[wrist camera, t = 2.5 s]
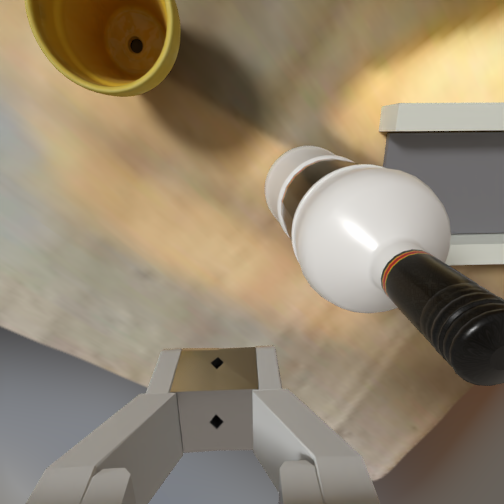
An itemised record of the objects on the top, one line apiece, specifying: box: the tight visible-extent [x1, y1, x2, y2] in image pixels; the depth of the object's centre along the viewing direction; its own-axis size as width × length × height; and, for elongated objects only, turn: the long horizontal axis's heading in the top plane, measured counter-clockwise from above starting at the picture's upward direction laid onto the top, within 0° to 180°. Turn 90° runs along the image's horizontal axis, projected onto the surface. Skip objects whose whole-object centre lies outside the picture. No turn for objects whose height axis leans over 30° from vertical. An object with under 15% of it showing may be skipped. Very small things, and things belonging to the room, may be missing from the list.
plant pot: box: [25, 0, 181, 97], centre depth 27 cm, size 10×10×10 cm
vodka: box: [265, 146, 504, 386], centre depth 23 cm, size 9×9×30 cm
